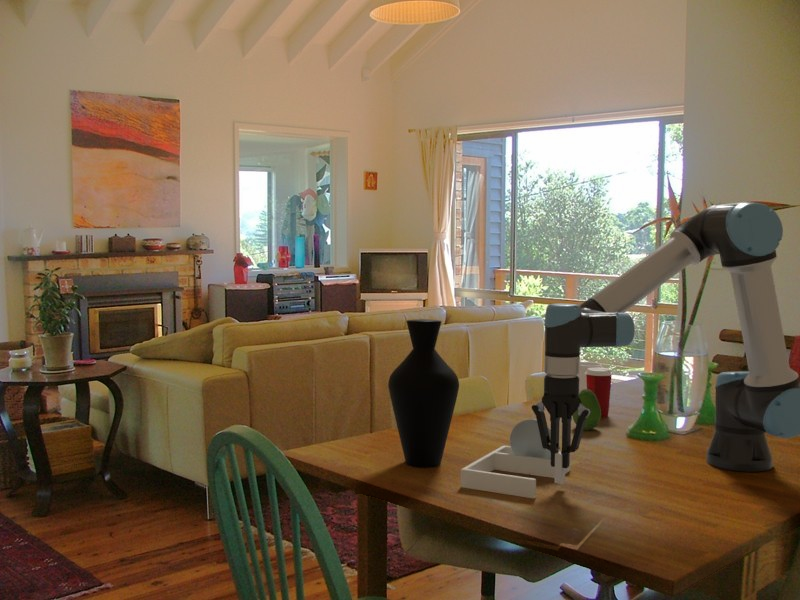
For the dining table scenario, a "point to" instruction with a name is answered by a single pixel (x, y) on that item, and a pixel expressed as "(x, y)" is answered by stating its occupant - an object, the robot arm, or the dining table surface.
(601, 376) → the coffee cup
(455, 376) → the vase
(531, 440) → the grey plate
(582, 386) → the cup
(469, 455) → the dining table surface
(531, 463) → the dish rack
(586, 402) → the fruit
